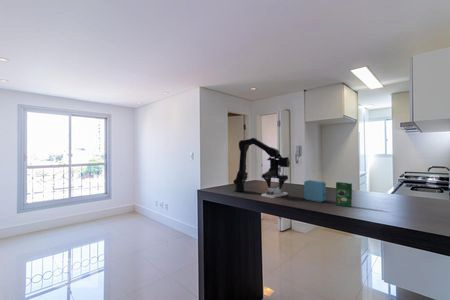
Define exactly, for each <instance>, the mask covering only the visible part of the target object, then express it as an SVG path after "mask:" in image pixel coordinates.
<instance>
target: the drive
mask: <svg viewBox="0 0 450 300" xmlns="http://www.w3.org/2000/svg"><path fill="white" fill-rule="evenodd" d="M267 191H268V194H270V192H272V195H276V194H279V193H281V190H279V185H273V186H270V187H269V188H268V187H267Z"/></svg>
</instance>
